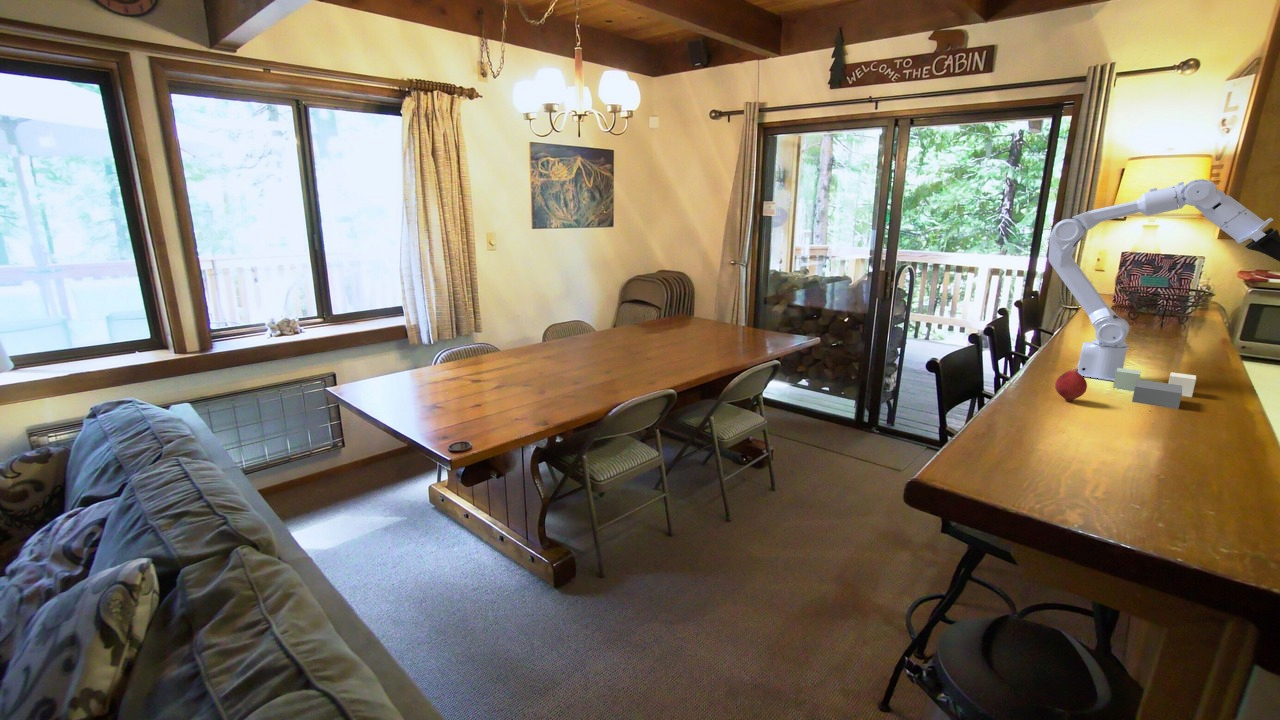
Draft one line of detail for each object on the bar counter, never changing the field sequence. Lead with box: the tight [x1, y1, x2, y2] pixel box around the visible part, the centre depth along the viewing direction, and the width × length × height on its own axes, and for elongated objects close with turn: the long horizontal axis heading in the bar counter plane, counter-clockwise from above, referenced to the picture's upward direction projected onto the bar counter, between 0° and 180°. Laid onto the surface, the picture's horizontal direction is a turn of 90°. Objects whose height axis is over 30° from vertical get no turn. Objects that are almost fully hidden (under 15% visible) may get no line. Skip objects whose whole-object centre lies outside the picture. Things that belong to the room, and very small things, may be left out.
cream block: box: [1167, 371, 1197, 398], centre depth 140 cm, size 4×4×4 cm
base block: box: [1131, 378, 1183, 410], centre depth 134 cm, size 8×8×4 cm
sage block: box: [1112, 367, 1142, 392], centre depth 144 cm, size 4×4×4 cm
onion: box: [1054, 367, 1088, 402], centre depth 134 cm, size 6×6×8 cm
